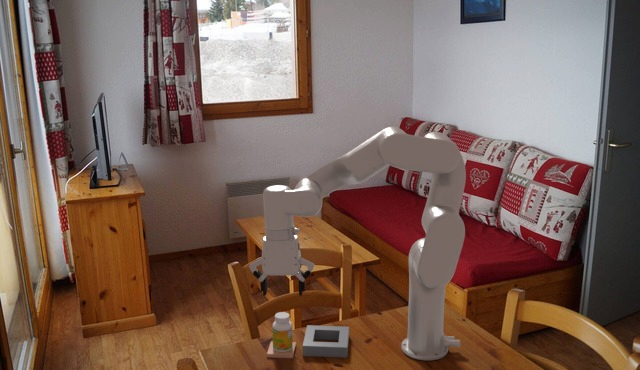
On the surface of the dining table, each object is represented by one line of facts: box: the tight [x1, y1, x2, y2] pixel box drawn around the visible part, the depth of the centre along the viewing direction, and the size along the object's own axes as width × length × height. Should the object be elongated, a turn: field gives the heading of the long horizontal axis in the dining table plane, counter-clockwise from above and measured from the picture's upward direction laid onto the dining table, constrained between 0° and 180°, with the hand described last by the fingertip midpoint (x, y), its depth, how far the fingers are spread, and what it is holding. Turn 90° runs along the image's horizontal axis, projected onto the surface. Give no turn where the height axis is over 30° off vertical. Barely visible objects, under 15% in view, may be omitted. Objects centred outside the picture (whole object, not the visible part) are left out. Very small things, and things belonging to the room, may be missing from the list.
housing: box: [302, 324, 350, 359], centre depth 179 cm, size 12×12×3 cm
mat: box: [266, 340, 297, 359], centre depth 177 cm, size 7×7×1 cm
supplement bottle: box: [272, 311, 293, 352], centre depth 175 cm, size 5×5×10 cm
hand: (283, 293), depth 172 cm, fingers open, 9 cm apart
